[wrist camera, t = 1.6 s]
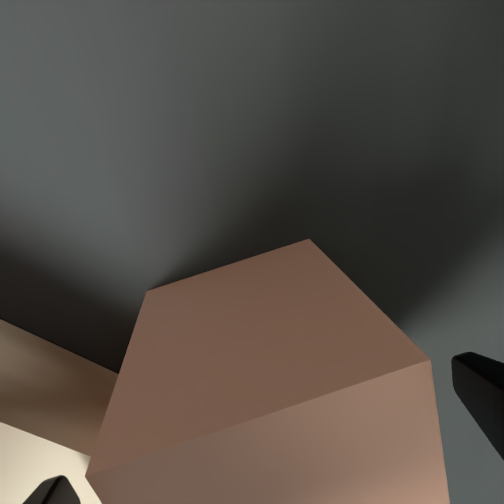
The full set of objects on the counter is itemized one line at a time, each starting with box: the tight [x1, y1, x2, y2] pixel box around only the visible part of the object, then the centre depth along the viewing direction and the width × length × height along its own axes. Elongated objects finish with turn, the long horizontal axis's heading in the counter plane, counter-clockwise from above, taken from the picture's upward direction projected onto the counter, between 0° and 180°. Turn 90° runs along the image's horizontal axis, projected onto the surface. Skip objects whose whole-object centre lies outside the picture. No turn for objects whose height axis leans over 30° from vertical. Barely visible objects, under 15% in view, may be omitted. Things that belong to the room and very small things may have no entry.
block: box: [85, 239, 450, 504], centre depth 9 cm, size 5×5×6 cm
